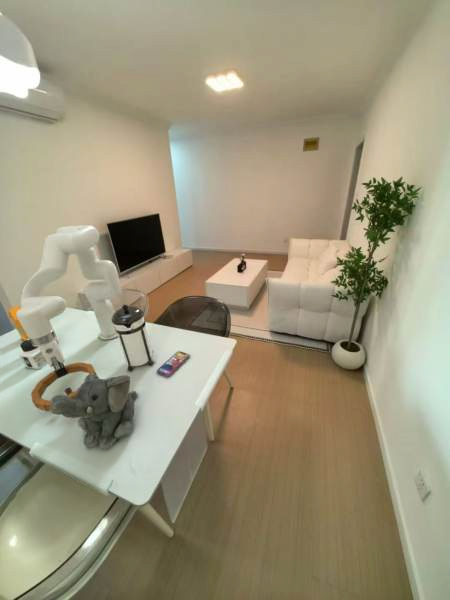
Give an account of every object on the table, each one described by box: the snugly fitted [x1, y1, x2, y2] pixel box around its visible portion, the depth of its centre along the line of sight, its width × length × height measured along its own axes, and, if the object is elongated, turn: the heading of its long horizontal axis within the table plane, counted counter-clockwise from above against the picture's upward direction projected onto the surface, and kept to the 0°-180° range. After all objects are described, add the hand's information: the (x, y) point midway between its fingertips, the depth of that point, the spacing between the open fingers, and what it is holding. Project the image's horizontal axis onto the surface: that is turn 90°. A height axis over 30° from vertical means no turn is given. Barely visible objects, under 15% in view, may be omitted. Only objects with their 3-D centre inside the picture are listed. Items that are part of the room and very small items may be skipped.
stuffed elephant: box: [49, 373, 138, 449], centre depth 72 cm, size 19×21×27 cm
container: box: [18, 339, 48, 370], centre depth 108 cm, size 8×8×13 cm
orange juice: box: [7, 304, 29, 341], centre depth 128 cm, size 8×9×20 cm
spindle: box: [64, 387, 73, 396], centre depth 88 cm, size 4×4×6 cm
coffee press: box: [111, 304, 155, 372], centre depth 102 cm, size 17×16×30 cm
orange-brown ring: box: [30, 362, 98, 412], centre depth 86 cm, size 20×20×3 cm
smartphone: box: [157, 350, 190, 377], centre depth 104 cm, size 1×7×15 cm
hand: (62, 373), depth 92 cm, fingers closed on orange-brown ring, 2 cm apart
